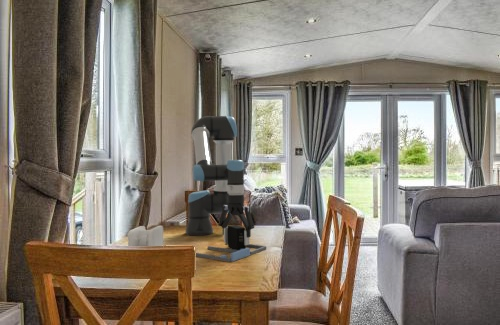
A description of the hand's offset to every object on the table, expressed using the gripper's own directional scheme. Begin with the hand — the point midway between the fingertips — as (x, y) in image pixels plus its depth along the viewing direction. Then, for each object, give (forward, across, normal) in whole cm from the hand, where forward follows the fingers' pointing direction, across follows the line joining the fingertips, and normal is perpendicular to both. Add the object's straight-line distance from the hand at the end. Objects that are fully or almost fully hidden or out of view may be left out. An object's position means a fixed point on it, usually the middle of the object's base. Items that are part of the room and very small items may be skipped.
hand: (236, 243), depth 174 cm
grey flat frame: (+2, 0, -6) cm, 7 cm away
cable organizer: (+3, -27, -28) cm, 39 cm away
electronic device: (+3, 0, 0) cm, 3 cm away
